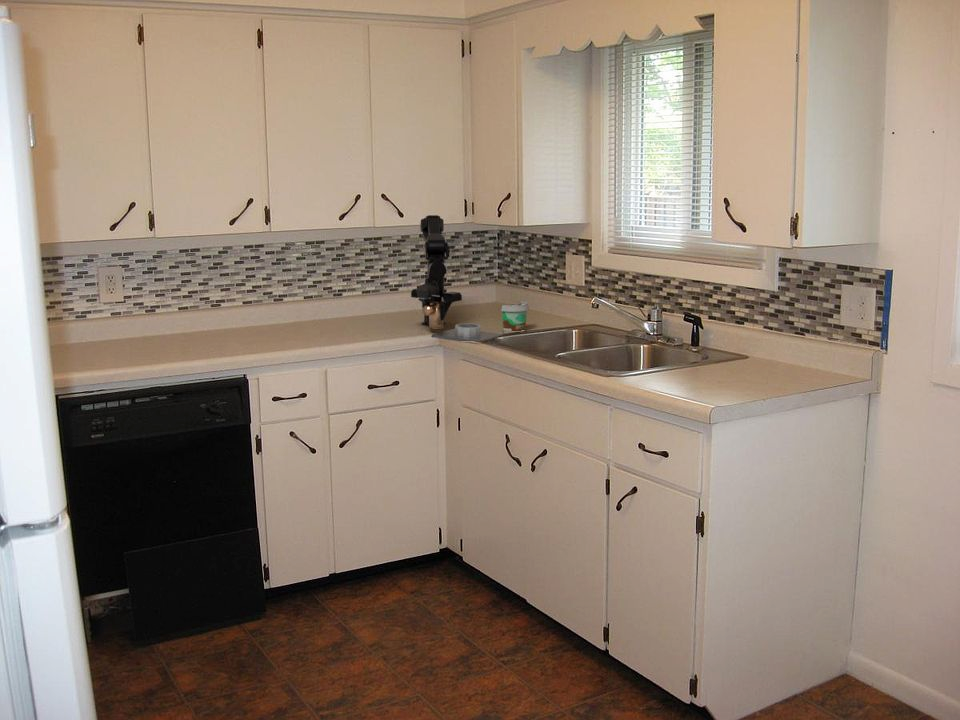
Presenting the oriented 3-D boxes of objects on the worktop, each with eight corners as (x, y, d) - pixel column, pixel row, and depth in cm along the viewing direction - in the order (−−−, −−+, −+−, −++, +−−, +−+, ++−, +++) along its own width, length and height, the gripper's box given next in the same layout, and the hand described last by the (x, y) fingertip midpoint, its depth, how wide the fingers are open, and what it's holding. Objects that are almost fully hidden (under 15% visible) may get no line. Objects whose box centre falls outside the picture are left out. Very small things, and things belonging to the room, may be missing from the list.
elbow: (420, 329, 347) (420, 303, 345) (435, 326, 354) (435, 300, 352) (431, 331, 344) (431, 305, 342) (446, 327, 351) (446, 302, 349)
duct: (431, 336, 342) (431, 325, 342) (458, 330, 354) (458, 319, 353) (478, 344, 331) (478, 332, 330) (504, 337, 343) (504, 325, 342)
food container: (515, 335, 346) (515, 307, 344) (501, 333, 350) (501, 305, 348) (535, 330, 356) (535, 302, 354) (521, 328, 359) (521, 300, 357)
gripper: (400, 275, 345) (401, 319, 349) (442, 279, 334) (442, 325, 338) (421, 272, 354) (421, 315, 357) (462, 276, 343) (462, 321, 347)
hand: (436, 319), depth 350 cm, fingers closed on elbow, 5 cm apart
